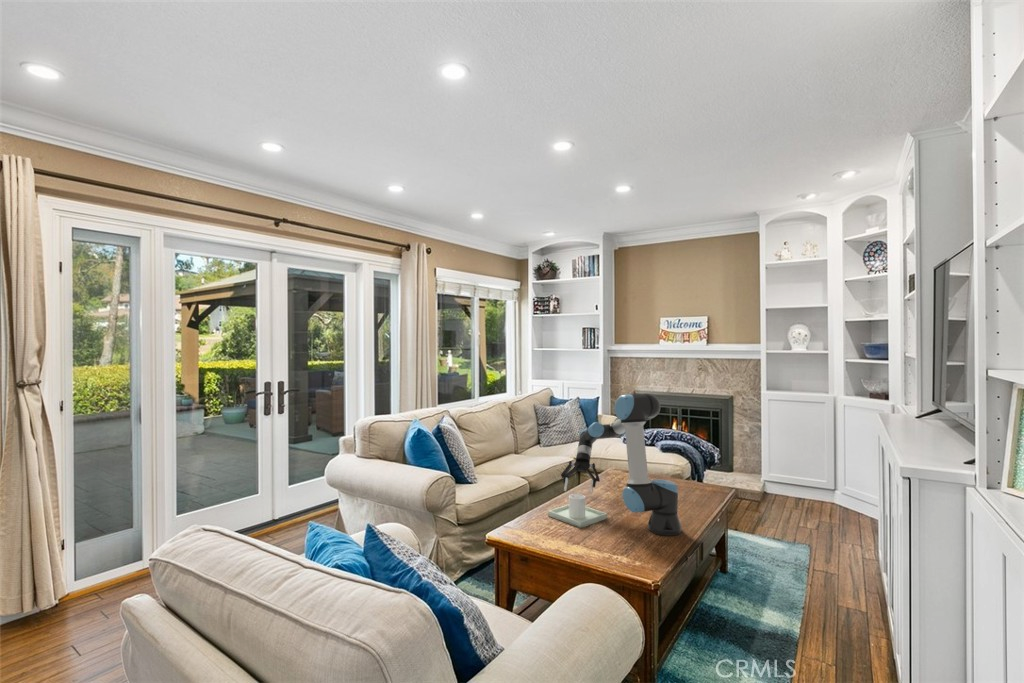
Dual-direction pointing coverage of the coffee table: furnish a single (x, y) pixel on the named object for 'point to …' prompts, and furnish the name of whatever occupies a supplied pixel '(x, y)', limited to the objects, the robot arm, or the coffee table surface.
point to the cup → (576, 506)
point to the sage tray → (589, 519)
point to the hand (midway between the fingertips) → (578, 491)
